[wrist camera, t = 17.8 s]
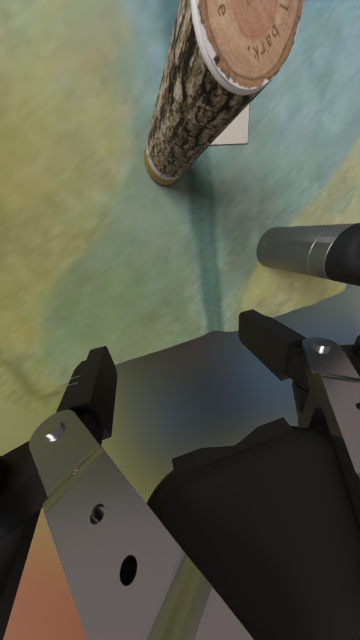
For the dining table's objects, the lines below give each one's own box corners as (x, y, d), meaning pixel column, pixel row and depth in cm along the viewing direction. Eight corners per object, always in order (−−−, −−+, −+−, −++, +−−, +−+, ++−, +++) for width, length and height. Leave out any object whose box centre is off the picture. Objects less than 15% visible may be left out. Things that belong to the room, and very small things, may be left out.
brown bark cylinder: (187, 159, 31) (324, -4, 10) (168, 195, 33) (250, 121, 11) (156, 125, 28) (255, -221, 7) (136, 166, 30) (167, -8, 8)
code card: (251, 41, 27) (252, 39, 27) (246, 143, 33) (247, 143, 33) (180, 34, 25) (180, 33, 25) (188, 145, 31) (188, 145, 30)
